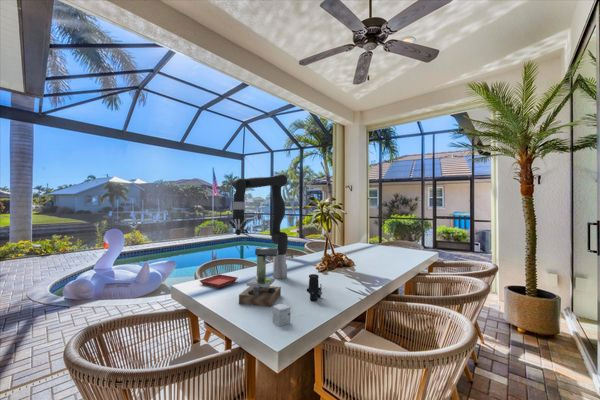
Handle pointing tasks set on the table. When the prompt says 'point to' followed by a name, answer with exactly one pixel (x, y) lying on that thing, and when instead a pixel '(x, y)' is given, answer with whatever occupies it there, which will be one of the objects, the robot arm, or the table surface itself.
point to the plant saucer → (218, 280)
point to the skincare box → (281, 314)
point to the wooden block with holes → (260, 296)
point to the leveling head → (262, 267)
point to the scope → (314, 288)
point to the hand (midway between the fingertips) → (238, 235)
